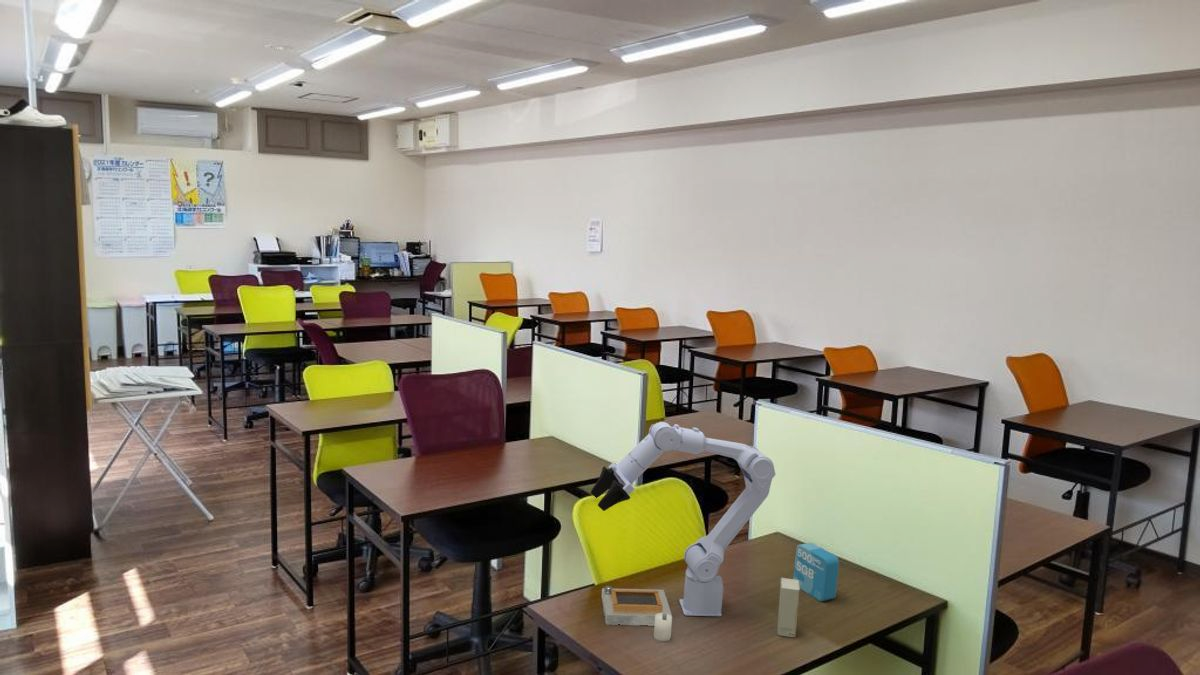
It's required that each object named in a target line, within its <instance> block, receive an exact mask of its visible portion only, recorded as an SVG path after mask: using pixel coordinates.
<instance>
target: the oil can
mask: <svg viewBox="0 0 1200 675" xmlns="http://www.w3.org/2000/svg"><path fill="white" fill-rule="evenodd" d="M672 626H673V615H672V616H671V615H669V614H667V613H658V614H656V615H655V625H654V628H653V638H654V639H655V640H656V641H659V642H669V641H670V640H671V638H672V637H671V636H672V628H673V627H672Z"/></svg>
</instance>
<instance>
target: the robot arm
mask: <svg viewBox="0 0 1200 675" xmlns="http://www.w3.org/2000/svg"><path fill="white" fill-rule="evenodd" d="M691 428H692V429H691ZM691 428H685V427H681V426H680V425H679V424H676V423H675V424H674V425H673V426H671V425H670V424H669V423H668V422H666V421H659V422H656V423H652V424H651V425H650V427H649V429H648V434H647V435H645V437H644V438H642V440H641V441H640V442H639V443H637V445H636V446H635V447H634V448H632V450H630V452H629V453H627V454H626V455H625V457H623V458H622V460H620V461H619V462H618V464H617V463H616V462H615V461H613V462H612V463H611V464H610V465H608V468H607V467H606V466H603V467H602V469H601V472H600V475H599V477H598V479H597V481H596V482H595V484H594V485H593V487H592V489H591V490H590V494H591V495H592V496H593V497H594V498H595V499H597V498H599V497H600V496H602V495H603V494H604V493H605V494H604V496H602V498H601V500H599V502H598V504H597V507H599V509H601V510H602V512H604V511H607V510H609V509H610V508H612V507H614V506H615V505H617V504H619V503H622V502H625V501H628V500H630V499H631V496H630V494H631V493H633V491H634V490H635V486H634V484H633V483H634V482H635V481H636V480H637V479H639V477H640V476H641V475H642V474H644V472H645V471H646V470H647V469H648V468H649V467H650V466H651V465H652V464H653V463H654V462H656V461H657V459H658V458H659V457H660V456H661V455H662V454H663V453H665V452H670V451H672V450H673V451H678V452H684V453H687V454H694V455H699V454H701V453H702V452H707V453H712V454H716V455H720V456H723V457H727V458H732V459H733V460H734V461H736V462H737V464H738V467H739V468H740V470H741V472H742V474H743V479H744V483H745V488H744V489H743V490H742V492H741V493H740V495H738V497H737V498H736V500H735V501H734V502H733V503H732V505H730V507H729V508H728V509H727V511H726V512H725V513H724V514H723V516H722V517H721V518H720V519H719V520H718V522H717V523H716V524H715V526H713V528H712V529H711V531H710V532H709V533H708V534H707V535H706V536H702V537H699V538H698V540H696V541H695V542H694V543H692V544H691V545H689V546H688V547H687V548H686V549H685V551H684V553H683V558H684V561H685V563H686V564H687V568H686V570H685V578H684V587H683V588H684V590H683V591H684V592H683V598H680V599H679V604H680V607H681V610H682V613H683V615H684V616H688V617H689V616H690V617H699V616H700V617H722V609H723V608H722V607H723V597H724V596H723V594H724V583H723V579H722V576H721V575H717V574H718V573H719V568H720V566H721V565H722V563H723V562H724V554H725V550H726V548H727V547H728V546H729V545H730V544H731V543H732V541H733V540H734V539H735V538H736V536H737V535H738V533H740V531H741V530H742V529H743V528H744V526H745V525H746V524H747V522H748V521H750V519H751V518H752V517H753V515H754V514H755V512H756V511H757V510H758V509H759V508H760V506H761V505H762V504H763V503H764V502H765V500H766V499H767V498H768V496H769V494H770V489H771V484H772V482H773V481H772V480H773V478H774V477H775V476H776V470H775V465H774V462H773V461H772V459H770V458H769V457H768V456H766V455H764V454H763V453H762V452H761V451H760V450H759V449H758V448H757V447H755V446H751V445H750V446H749V445H748V444H745V443H741V442H734V441H729V440H724V439H717V438H711V437H706V436H705V434H704V432H702V431H700V429H699V427H691Z"/></svg>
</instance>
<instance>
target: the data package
mask: <svg viewBox="0 0 1200 675" xmlns="http://www.w3.org/2000/svg"><path fill="white" fill-rule="evenodd" d="M795 548H796V549H795V558H794V567H793V568H794V570H793V575H792V577H793V578H792V579H795V580H799V587H800V590H801V591H803V592H805V593H806V594H808V595H810V596H811V597H813V598H814V599H815V598H816V600H817V601H818V602H824V601H828V600H833V599H835V598H836V596H837V587H838V586H837V585H838V577H839V570H840V569H839V568H840V561H839V558H838V557H837V556H836V555H835V554H833V553H831V552H829V551H828V550H826V549H824V548H823V547H821V546H819V545H817V544H815V543H813V542H808V543H807V542H806V543H803V544H802V543H801V544H798V545H797V546H796V547H795Z"/></svg>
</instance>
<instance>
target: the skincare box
mask: <svg viewBox="0 0 1200 675" xmlns="http://www.w3.org/2000/svg"><path fill="white" fill-rule="evenodd" d="M779 585H780V587H779V599H778V613H777V624H776V625H777V628H776V629H777V630H776V631H777V632H776V633H777V636H782V637H787V638H797V637H796V635H797V622H798V612H799V597H800V590H801V589H800V587H799V580H795V579H793V578H785V577H780V584H779Z"/></svg>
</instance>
